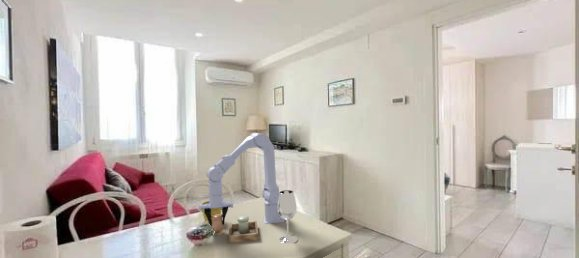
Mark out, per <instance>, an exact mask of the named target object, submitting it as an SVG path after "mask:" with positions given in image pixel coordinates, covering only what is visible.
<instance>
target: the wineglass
mask: <svg viewBox="0 0 579 258" xmlns="http://www.w3.org/2000/svg"><path fill="white" fill-rule="evenodd" d="M279 192H280V194H279V199H278V214H279V215H280V217H281V218H283V219H284V221H286V222H285V223H286V235H285V236H283V235H282V236H281V237H280V238H279V242H280V243H283V244H293V243H297V241H298V238H297V236H295V235H290V233H289V232H290V230H289V228H290V227H289V222H290V220H292V219H293V218H294V217H295V216H296V214H297V209H298V208H297V207H298V206H297V201H296V198H295V197H296V196H295V193H294V191H293V190H290V189H285V190H281V191H280V190H279Z"/></svg>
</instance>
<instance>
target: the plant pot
mask: <svg viewBox="0 0 579 258" xmlns="http://www.w3.org/2000/svg"><path fill="white" fill-rule="evenodd" d="M203 204H209V200H208V201H203V202H201V204H200V205H203ZM200 211H201V212H202V216H203V220H204V222H205V221H208V219H207V217H206V215H205V213H204V210H200ZM216 214H222V208H217V209H211V216H213V215H216ZM208 223H209V221H208Z"/></svg>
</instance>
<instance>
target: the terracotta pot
mask: <svg viewBox="0 0 579 258" xmlns="http://www.w3.org/2000/svg"><path fill="white" fill-rule="evenodd" d="M211 220H212V225H211V227H212V229H213V228H214V231H221V230H222V229H224V225H223V224H222V220H223V217H222V213H221V214H216V215H213V216H211Z"/></svg>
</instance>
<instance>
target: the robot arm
mask: <svg viewBox="0 0 579 258" xmlns="http://www.w3.org/2000/svg"><path fill="white" fill-rule="evenodd" d="M252 148H259V149H260V150H261V151H263V166H264V185H263V190H262V193H261V194H262V198H263V199H264V217H263V221H264V224H265V225H267V224H276V223H284V222H285V221H286V220H285V219H283V218H281V217H280V215H279V214H278V199H279V194H280V190H279V189H280V188H279V185H278V184H277V177H276V175H277V174H276V158H275V156H276V155H275V146H274V144H273V143H272V142H271V140H270V137H269V136H268V135H267V134H265V133H264V132H259V133H258V132H252V133H251V134H250V135H248V136H247V137H246V138H245V139H244V140H243V141H242V142H241V143H240V144H239V145H238V146H237V147H236V148H235V149H234V150H233V151H232V152H231V153H230V154H225V155H222V156H221V159H220V160H219V161H218V162H217V163H214V164H213V166H211V167H209V169H208V170H207V173H206V176H207V178H208V197H209V198H208V199H209V200H208V201H209V204H203V205H201V204H199V206H198V211H201V210H204V213H205V215H206V217H207V219H208V221H209V224H210V225H211V226H212V220H211V209H217V208H222V210H221V214H222V224H223V226H224V225H225V221H226V215H227V213H228V210H229V208H234V202H233V201H223V200H224V199H223V198H224V197H223V183H222V182H223V181H222V179H223V177H224V174H226V173H227V172H228V171H229V170H230V169H231V168H232V167H233V166H234V165H235V164H236V160H237V159H238V158H239V157H240V156H241V155H243V154H244V153H245V152H246V151H247V150H249V149H252ZM285 223H286V222H285ZM210 225H209V226H210Z"/></svg>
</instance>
